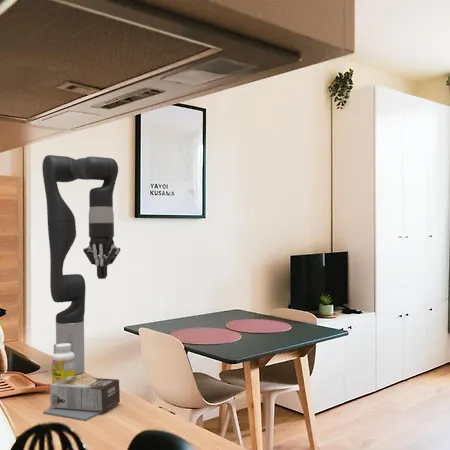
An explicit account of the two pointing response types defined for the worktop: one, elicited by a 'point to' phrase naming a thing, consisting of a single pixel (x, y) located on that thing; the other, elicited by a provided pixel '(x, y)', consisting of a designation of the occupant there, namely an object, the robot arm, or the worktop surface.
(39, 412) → the worktop surface
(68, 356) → the supplement bottle
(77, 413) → the mat
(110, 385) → the coffee box
